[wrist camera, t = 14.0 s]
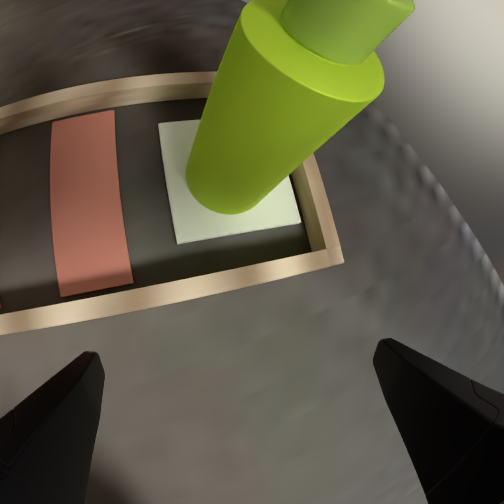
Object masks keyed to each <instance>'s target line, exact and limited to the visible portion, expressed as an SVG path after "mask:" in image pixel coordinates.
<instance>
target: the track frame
mask: <svg viewBox="0 0 504 504" xmlns="http://www.w3.org/2000/svg"><path fill="white" fill-rule="evenodd" d="M216 74H217V72H184V73H168V74H155V75H145V76H136V77H128V78H120V79H114V80H107V81H101V82H95V83H90V84H85V85H80V86H75V87H70V88H66V89H62V90H57V91H53V92H49V93H45V94H42V95H38V96H35V97H31V98H28V99H24V100H21V101H18V102H15V103H12V104H9V105H6V106H3V107H0V135H1V134H4V133H7V132H10V131H13V130H17V129H20V128H23V127H27V126H30V125H34V124H37V123H41V122H45V121H49V120H53V119H57V118H61V117H65V116H70V115H74V114H79V113H84V112H89V111H94V110H100V109H106V108H112V107H118V106H125V105H132V104H140V103H148V102H157V101H168V100H180V99H195V98H208V96H209V93H210V91H211V88H212V85H213V82H214V79H215V77H216ZM291 175H292V179H293V182H294V186H295V189H296V193H297V197H298V200H299V204H300V208H301V211H302V215H303V219H304V223H305V227H306V231H307V234H308V238H309V242H310V246H311V250H312V252H311V253H306V254H301V255H297V256H292V257H288V258H283V259H278V260H274V261H269V262H264V263H259V264H255V265H250V266H245V267H240V268H236V269H231V270H226V271H221V272H216V273H212V274H207V275H202V276H197V277H192V278H187V279H182V280H177V281H173V282H168V283H163V284H158V285H153V286H148V287H143V288H138V289H133V290H128V291H122V292H117V293H112V294H107V295H102V296H97V297H92V298H86V299H81V300H76V301H71V302H65V303H60V304H55V305H50V306H44V307H39V308H33V309H28V310H23V311H17V312H12V313H6V314H0V335H3V334H9V333H16V332H22V331H28V330H34V329H40V328H46V327H52V326H57V325H63V324H69V323H74V322H80V321H85V320H90V319H96V318H101V317H106V316H112V315H117V314H122V313H127V312H132V311H137V310H142V309H147V308H152V307H156V306H161V305H166V304H171V303H175V302H180V301H185V300H189V299H194V298H199V297H203V296H208V295H212V294H217V293H221V292H226V291H230V290H234V289H239V288H243V287H247V286H252V285H256V284H260V283H264V282H268V281H273V280H277V279H281V278H285V277H289V276H293V275H297V274H301V273H305V272H309V271H313V270H317V269H321V268H325V267H329V266H333V265H337V264H341V263H344V260H343V255H342V251H341V247H340V243H339V240H338V236H337V232H336V228H335V224H334V221H333V217H332V213H331V210H330V206H329V203H328V199H327V196H326V192H325V189H324V185H323V182H322V179H321V176H320V172H319V169H318V166H317V163H316V160H315V156H314V153H313V154H311V155H310V156H309V157H308V158H307V159H306V160H305V161H304V162H303V163H301V164H300V165H299V166H298V167H297V168H296V169H295V170H294V171H293V172H292V173H291Z"/></svg>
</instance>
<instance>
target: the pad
mask: <svg viewBox="0 0 504 504" xmlns="http://www.w3.org/2000/svg"><path fill="white" fill-rule="evenodd" d="M199 123H200V120H188V121H177V122H167V123H158V129H159V137H160V144H161V152H162V159H163V166H164V172H165V179H166V185H167V192H168V198H169V203H170V209H171V215H172V221H173V226H174V231H175V237H176V242H177V244H183V243H188V242H194V241H199V240H205V239H211V238H216V237H222V236H228V235H233V234H239V233H245V232H251V231H257V230H263V229H269V228H275V227H281V226H287V225H293V224H299V223H301V219H300V216H299V212H298V208H297V204H296V201H295V197H294V193H293V190H292V186H291V182H290V179H289V175H288V176H287V177H286V178H285V179H284V180H283V181H282V182H281V183H280V184H279V185H277V186H276V187H275V188H274V189H273V190H272V191H271V192H270V193H269V194H268V195H267V196H266V197H264V198H263V199H262V200H261V201H260V202H259V203H258V204H257V205H256V206H255V207H253V208H252V209H250V210H248V211H246V212H244V213H240V214H235V215H226V214H220V213H216V212H214V211H211V210H209V209H207V208H206V207H204V206H203V205H202V204H200V203H199V202H198V201H197V200H196V199H195V197H194V196H193V195H192V193H191V192H190V190H189V187H188V185H187V181H186V165H187V162H188V158H189V155H190V152H191V148H192V145H193V142H194V139H195V135H196V132H197V129H198V126H199Z"/></svg>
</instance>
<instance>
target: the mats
mask: <svg viewBox="0 0 504 504" xmlns="http://www.w3.org/2000/svg"><path fill="white" fill-rule="evenodd" d="M50 202H51V222H52V235H53V246H54V255H55V263H56V271H57V278H58V284H59V290H60V296H61V297H65V296H70V295H75V294H81V293H86V292H91V291H96V290H101V289H106V288H111V287H117V286H122V285H127V284H132V283H134V281H133V276H132V271H131V266H130V260H129V254H128V248H127V242H126V235H125V229H124V222H123V214H122V206H121V198H120V189H119V179H118V168H117V155H116V138H115V114H114V110H110V111H104V112H99V113H93V114H88V115H83V116H78V117H73V118H69V119H64V120H60V121H56V122H52V134H51V153H50ZM0 309H2V308H1V302H0Z"/></svg>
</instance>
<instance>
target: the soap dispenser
mask: <svg viewBox="0 0 504 504" xmlns="http://www.w3.org/2000/svg"><path fill="white" fill-rule="evenodd" d="M414 9H415V4H414V2H413V0H252V1H250V2H249V3H248V4H247V5H246V6H245V7H244V8H243V10H242V12H241V14H240V16H239V19H238V21H237V23H236V26H235V28H234V30H233V33H232V35H231V38H230V40H229V43H228V45H227V48H226V50H225V53H224V55H223V58H222V61H221V63H220V66H219V69H218V71H217V74H216V77H215V79H214V82H213V85H212V88H211V91H210V93H209V96H208V99H207V102H206V105H205V108H204V111H203V114H202V117H201V120H200V123H199V126H198V129H197V132H196V135H195V139H194V142H193V145H192V148H191V152H190V155H189V158H188V162H187V165H186V181H187V185H188V187H189V190H190V192H191V193H192V195H193V196H194V197H195V199H196V200H197V201H198V202H199V203H200V204H202V205H203V206H204V207H206V208H207V209H209V210H211V211H214V212H216V213H220V214H226V215H235V214H240V213H244V212H246V211H248V210H250V209H252V208H253V207H255V206H256V205H257V204H258V203H259V202H260V201H261V200H262V199H263V198H264V197H266V196H267V195H268V194H269V193H270V192H271V191H272V190H273V189H274V188H275V187H276V186H277V185H279V184H280V183H281V182H282V181H283V180H284V179H285V178H286V177H287V176H288V175H289V174H290V173H292V172H293V171H294V170H295V169H296V168H297V167H298V166H299V165H300V164H301V163H303V162H304V161H305V160H306V159H307V158H308V157H309V156H310V155H311V154H313V153H314V152H315V151H316V150H317V149H318V148H319V147H320V146H322V145H323V144H324V143H325V142H326V141H327V140H328V139H329V138H330V137H332V136H333V135H334V134H335V133H336V132H337V131H338V130H340V129H341V128H342V127H343V126H344V125H345V124H346V123H348V122H349V121H350V120H351V119H352V118H353V117H354V116H356V115H357V114H358V113H359V112H360V111H361V110H362V109H364V108H365V107H366V106H367V105H368V104H369V103H371V102H372V101H373V100H374V99H375V98H376V97H377V96H379V94H380V93H381V91H382V90H383V87H384V72H383V68H382V65H381V63H380V60H379V58H378V56H377V55H376V53H375V51H374V50H375V49H376V48H377V47H378V46H379V45H380V44H381V42H383V41H384V39H386V38H387V37H388V36H389V35H390V34H391V33H392V32H393V31H394V30H395V29H396V28H397V27H398V26H399V25H400V24H401V23H402V22H403V21H404V20H405V19H406V18H407V17H408V16H409V15H410V14H411V13H412V12H413V11H414Z"/></svg>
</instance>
